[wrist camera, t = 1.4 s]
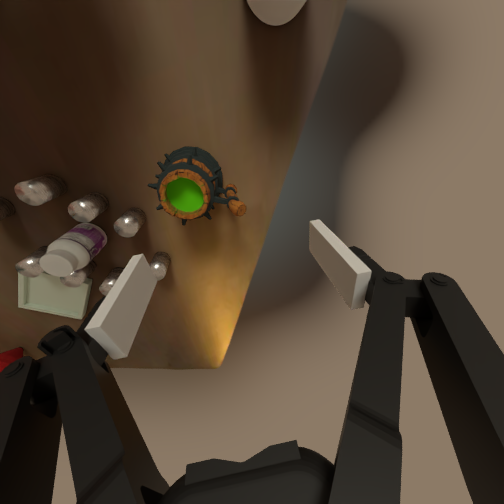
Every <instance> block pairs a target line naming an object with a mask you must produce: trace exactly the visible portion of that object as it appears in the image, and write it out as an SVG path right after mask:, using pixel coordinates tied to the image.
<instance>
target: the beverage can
mask: <svg viewBox="0 0 504 504" xmlns="http://www.w3.org/2000/svg"><path fill="white" fill-rule="evenodd" d="M306 1H307V0H247V3H248V5H249V7H250V8H251V10H252V11H253V13H254V14H255V15H256V16H257V17H258V18H259V19H260V20H261V21H262V22H264V23H266V24H269V25H273V26H278V25H283V24H285V23H287V22H289V21H290V20H292V19H293V18H294V17H295V16H296V15H297V13H298V12H299V11H300V9H301V8H302V6H303V5H304V4H305V2H306Z"/></svg>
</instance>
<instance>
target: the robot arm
mask: <svg viewBox="0 0 504 504" xmlns="http://www.w3.org/2000/svg"><path fill="white" fill-rule="evenodd" d="M309 242H310V243H309V245H310V246H309V250H310V252H311V253H312V255H313V256H314V258H315V259H316V260H317V262H318V263H319V265H320V266H321V268H322V269H323V270H324V272H325V273H326V275H327V276H328V278H329V279H330V281H331V282H332V284H333V285H334V286H335V288H336V289H337V291H338V292H339V294H340V295H341V296H342V298H343V299H344V301H345V302H346V304H347V305H348V306H349V308H350V309H351V310H353V309H358V308H363V307H364V303H365V300H366V302H367V303H368V304H369V305H370V306H369V310H368V314H367V319H366V324H365V328H364V333H363V337H362V342H361V346H360V351H359V356H358V360H357V365H356V369H355V373H354V379H353V383H352V387H351V392H350V396H349V401H348V405H347V410H346V414H345V419H344V423H343V428H342V432H341V437H340V441H339V445H338V449H337V454H336V458H335V463H334V465H333V464H332V463H331V462H330V461H329V460H327V459H326V458H325V457H323V456H322V455H320V454H319V453H317V452H315V451H313V450H310V449H307V448H304V447H298V445H297V441H296V440H294V441H289V442H285V443H281V444H276V445H272V446H269V447H267V448H266V449H264V450H263V451H261V452H259V453H258V454H256V455H254V456H253V457H251V458H250V459H248V460H246V461H245V462H241V463H240V462H233V461H227V460H220V459H210V460H205V461H201V462H196V463H192V464H188V465H187V466H186V474H185V475H183V476H182V477H181V478H179V479H178V480H177V481H176V482H175V483H174V484H173V485H172V486H171V487H169V485H168V484H167V482H166V481H165V479H164V478H163V477H162V476H161V474H160V473H159V471H158V469H157V467H156V465H155V463H154V461H153V459H152V457H151V454H150V452H149V450H148V448H147V446H146V444H145V442H144V440H143V437H142V435H141V433H140V431H139V429H138V427H137V425H136V422H135V420H134V418H133V416H132V414H131V412H130V410H129V408H128V405H127V404H126V401H125V399H124V397H123V395H122V393H121V391H120V389H119V386H118V385H117V382H116V380H115V378H114V376H113V374H112V371H111V369H110V367H109V365H108V363H107V362H106V361H105V359H106V357H107V355H109V356H110V357H111V358H112V359H113V360H114V359H119V358H124V357H127V356H128V353H129V351H130V348H131V346H132V343H133V341H134V338H135V336H136V333H137V331H138V328H139V326H140V323H141V321H142V318H143V316H144V313H145V311H146V308H147V306H148V303H149V301H150V298H151V296H152V293H153V291H154V288H155V286H156V283H157V279H156V277H155V275H154V273H153V271H152V270H151V268H150V266H149V264H148V262H147V260H146V258H145V257H144V255H143V254H139V255H134V256H133V257H132V258H131V260H130V261H129V263H128V264H127V266H126V267H125V269H124V270H123V272H122V273H121V275H120V276H119V278H118V279H117V281H116V282H115V284H114V285H113V287H112V288H111V290H110V291H109V293H108V294H107V296H105V297H103V298H102V299H100V300H99V301H98V302H97V303H96V304H95V306H94V307H93V309H92V311H91V312H90V313H89V314H88V317H86V319H85V320H84V322H83V323H82V325H81V326H80V328H79V329H78V330H77V332H75V331H74V330H73V329H72V328H71V327H70V326H67V325H64V326H61V327H58V328H56V329H54V330H52V331H51V332H49V333H48V334H46V335H45V336H44V337H43V338H42V339H41V341H40V342H39V343H38V347H37V348H39V349H40V350H41V351H43V352H44V353H45V354H46V355H47V356H45V357H43V358H41V359H38V360H34V359H33V358H32V357H30V356H25V357H22V358H19V359H17V360H16V361H14V362H12V363H10V364H9V365H8V366H6V367H5V368H4V369H3V370H2V371H1V372H0V504H51V503H52V495H53V488H54V480H55V473H56V465H57V458H58V450H59V442H60V435H61V428H62V424H63V429H64V434H65V439H66V445H67V450H68V455H69V460H70V466H71V471H72V475H73V481H74V487H75V491H76V497H77V503H76V504H400V490H401V467H402V437H401V434H400V432H399V411H400V393H401V376H402V356H403V340H404V322H405V317H410V318H411V321H412V324H413V327H414V330H415V333H416V336H417V339H418V342H419V345H420V348H421V351H422V354H423V357H424V360H425V363H426V366H427V369H428V372H429V375H430V378H431V381H432V384H433V387H434V390H435V393H436V396H437V399H438V402H439V405H440V408H441V411H442V414H443V417H444V420H445V423H446V426H447V429H448V432H449V435H450V438H451V441H452V443H453V447H454V450H455V453H456V456H457V459H458V462H459V464H460V468H461V471H462V474H463V476H464V479H465V482H466V485H467V488H468V491H469V494H470V496H471V499H472V501H473V504H504V354H503V353H502V351H501V350H500V348H499V347H498V345H497V344H496V342H495V341H494V339H493V337H492V336H491V334H490V333H489V331H488V330H487V328H486V327H485V325H484V324H483V322H482V321H481V319H480V318H479V316H478V315H477V313H476V312H475V310H474V308H473V307H472V305H471V304H470V302H469V301H468V299H467V298H466V296H465V295H464V293H463V292H462V290H461V289H460V287H459V286H458V284H457V283H456V282H455V280H454V279H452V278H450V277H449V276H447V275H444V274H441V273H435V272H432V273H426V274H424V275H423V277H422V280H407V279H404V278H403V277H402V276H401V275H399V274H396V273H393V272H386V271H385V270H384V269H383V268H382V267H381V266H379V265H378V264H377V263H376V262H375V261H374V260H373V259H371V257H369V256H368V255H367V254H366V253H365V252H364V251H363V250H362V249H359V248H357V247H355V246H353V247H347V246H346V245H345V244H343V242H342V241H341V240H340V239H339V238H338V237H337V236H336V235H335V234H334V233H332V231H330V230H329V229H328V228H327V227H326V226H325V225H324V224H323V223H322V222H321V221H320V220H313V221H310V241H309Z"/></svg>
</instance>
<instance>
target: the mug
mask: <svg viewBox="0 0 504 504" xmlns="http://www.w3.org/2000/svg"><path fill="white" fill-rule="evenodd" d="M165 157H166V158H167V159H166V160H165V163H164V164H162V163H161V162H157V164H158V165H159V167H160V168H161V169H162V173H161V174H160V175H156V177H157V178H159V180H158V184H148V186H149V187H151V188H154V189H157V193H158V198H159V201H160V202H161V204H160V205H159V206H158V207H157V208H156V209H157V210H160V209H163V208H164V210H165V211H166V212H167V213H168V214H170V215H171V216H176V217H178V218H181V219H182V225H183V226H184V225H185V223H186V221H187V219H188V220H191V219H196V218H200V217H202V216H203V215H204V216H206V217H207V218H208V219H210V220H211V219H212V218H211V216H210V215H209V213H208V211H209V210H210V209H211V208H212V209H215V208H214V206H213V202H216V203H221V204H227V207H228V208H229V209H230V210H231V212H232V213H233V214H234V215H236V216H242V215H244V214H245V212H246V206H245V204H244V203H243V202H241V201H239V199H238V198H237V195H236V193H237V188H236V187H235V185H232V184H229V185H227V186H226V188H225V189H223V188H222V172H221V167H219V164H218V162H217V161H216V160H215V159H214V158H213V157H212V156H211V155H210V153H208V152H206V151H204V150H202V149H200V148H198V147H183V148H180V149H178V150H175V151H173V152H172V153H171V154H170V156H169V155H168V154H165ZM220 193H223V194H225V197H226V198H227V199H225V198H220V197H218V196H219V194H220Z"/></svg>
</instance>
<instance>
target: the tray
mask: <svg viewBox="0 0 504 504" xmlns="http://www.w3.org/2000/svg"><path fill="white" fill-rule="evenodd" d="M92 280H93V279H90V278H86V280H85V281H84V282H83V283H82V284H81V285H80V286H79V287H76V288H72V287H68V286H66V285H64V284H63V283H62V282H61V281H60V277H57V276H53V275H51V274H48V273H47V272H45V271H44V272H42V273H41V274H40V275H39V276H37V277H34V278H30V277H26V276H23V275H21V274H20V273H19V272H18V307H20V308H25V309H30V310H35V311H40V312H46V313H51V314H56V315H61V316H66V317H71V318H76V319H81V320H82V318H83V317H84V315H85V314H86V309H87V305H88V300H89V295H90V290H91V285H92Z"/></svg>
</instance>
